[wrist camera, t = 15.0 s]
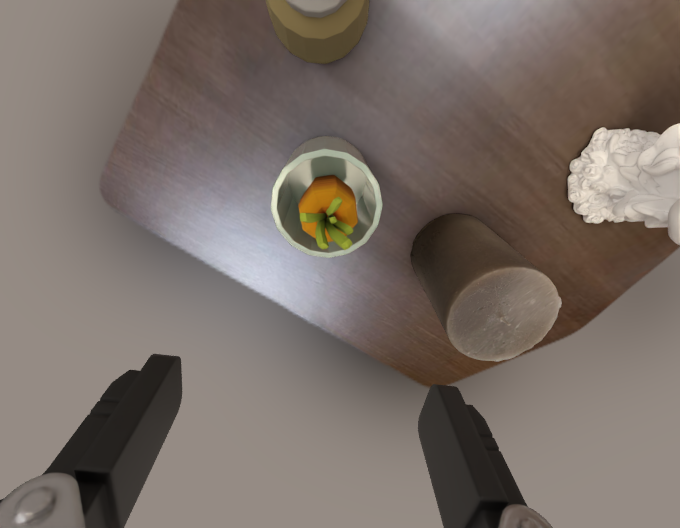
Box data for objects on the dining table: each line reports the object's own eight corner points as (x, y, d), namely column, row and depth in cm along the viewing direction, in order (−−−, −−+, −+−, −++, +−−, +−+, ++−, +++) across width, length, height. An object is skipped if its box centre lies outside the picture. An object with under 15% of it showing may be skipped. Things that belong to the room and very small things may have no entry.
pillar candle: (399, 233, 40) (435, 302, 27) (481, 199, 39) (563, 255, 25) (424, 297, 44) (466, 387, 31) (499, 269, 43) (578, 350, 29)
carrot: (296, 176, 36) (277, 224, 23) (337, 151, 35) (342, 186, 22) (320, 215, 38) (316, 280, 25) (359, 193, 37) (377, 248, 24)
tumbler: (281, 213, 39) (267, 249, 30) (290, 128, 35) (276, 140, 26) (359, 225, 40) (369, 264, 31) (376, 144, 36) (393, 161, 27)
